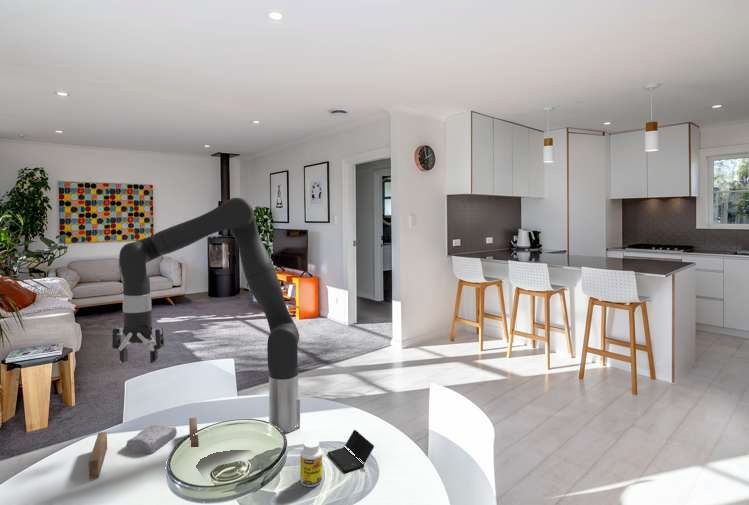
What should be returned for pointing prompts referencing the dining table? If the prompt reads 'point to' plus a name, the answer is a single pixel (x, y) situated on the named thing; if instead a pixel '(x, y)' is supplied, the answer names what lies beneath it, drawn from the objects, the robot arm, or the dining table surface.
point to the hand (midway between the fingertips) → (138, 362)
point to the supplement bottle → (311, 464)
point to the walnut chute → (101, 449)
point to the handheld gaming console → (358, 447)
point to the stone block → (151, 439)
